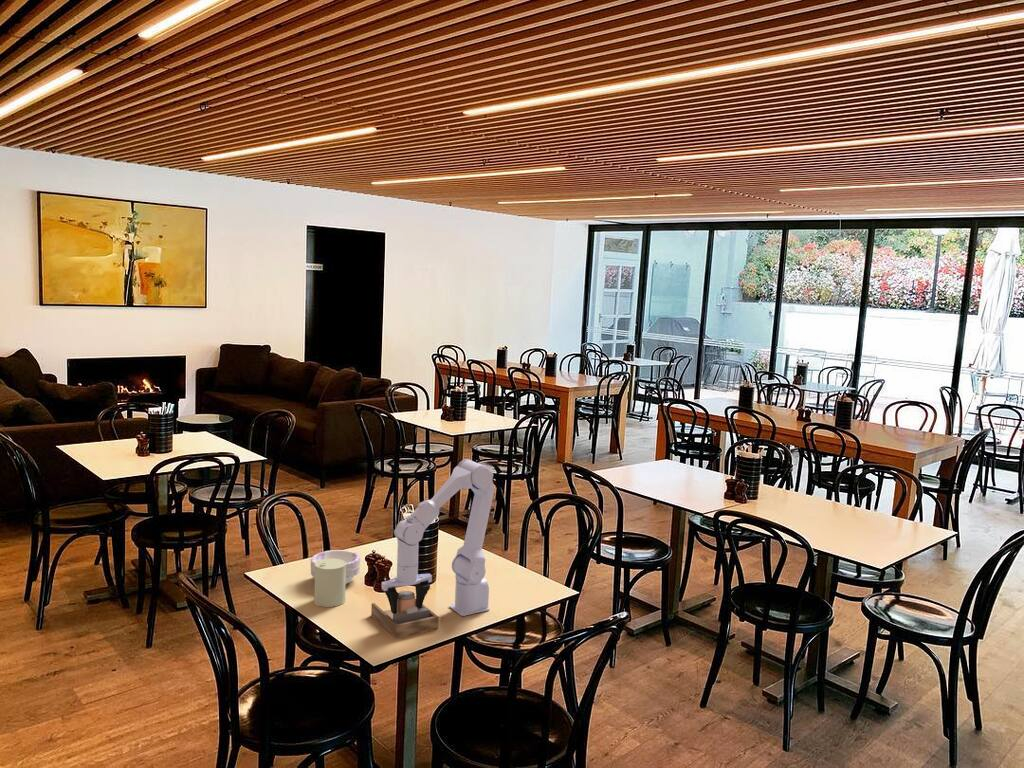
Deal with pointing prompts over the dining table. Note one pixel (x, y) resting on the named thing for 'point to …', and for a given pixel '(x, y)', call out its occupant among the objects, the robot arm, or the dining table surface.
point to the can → (330, 582)
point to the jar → (405, 601)
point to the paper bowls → (348, 556)
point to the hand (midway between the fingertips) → (406, 610)
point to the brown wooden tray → (407, 627)
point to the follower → (411, 615)
